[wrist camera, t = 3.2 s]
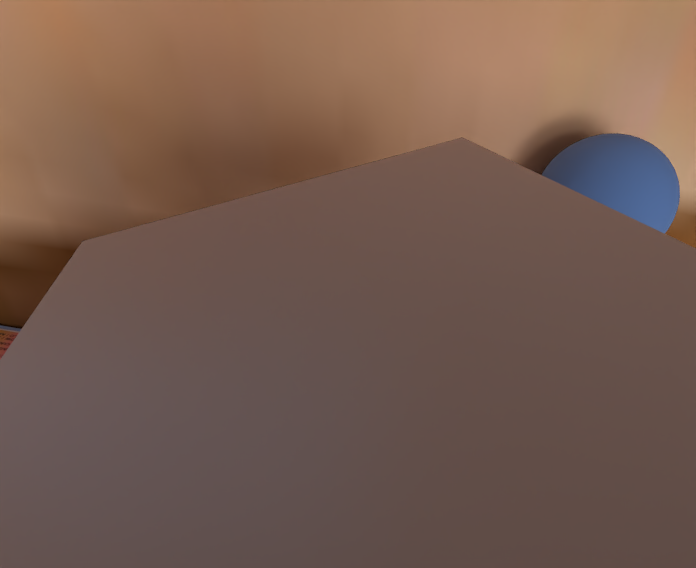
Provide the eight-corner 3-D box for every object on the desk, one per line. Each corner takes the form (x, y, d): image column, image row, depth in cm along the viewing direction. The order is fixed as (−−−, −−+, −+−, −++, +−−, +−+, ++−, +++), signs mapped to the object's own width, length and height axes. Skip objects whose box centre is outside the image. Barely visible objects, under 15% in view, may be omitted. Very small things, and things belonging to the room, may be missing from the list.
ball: (620, 109, 20) (729, 132, 15) (610, 218, 22) (701, 264, 18) (509, 140, 19) (589, 172, 15) (512, 247, 22) (581, 301, 17)
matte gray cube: (462, 137, 10) (1331, 550, 2) (483, 404, 13) (805, 886, 6) (82, 240, 9) (-740, 1427, 1) (220, 490, 13) (205, 1153, 5)
